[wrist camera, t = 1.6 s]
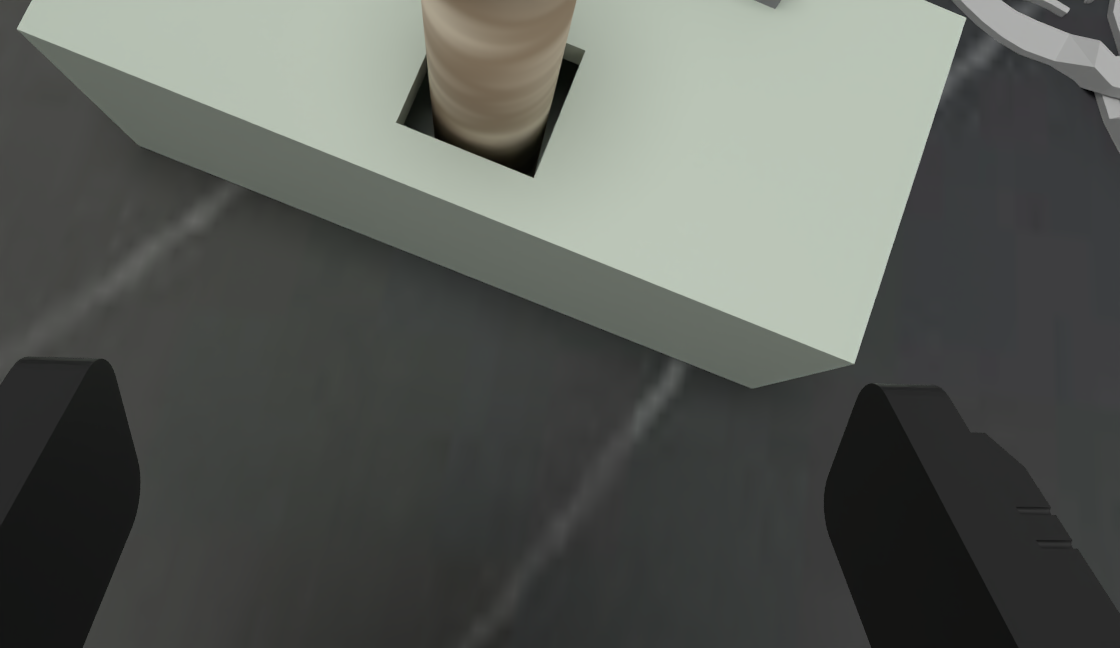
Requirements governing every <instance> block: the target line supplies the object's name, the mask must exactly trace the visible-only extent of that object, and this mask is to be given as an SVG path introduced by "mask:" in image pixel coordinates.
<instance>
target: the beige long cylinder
mask: <svg viewBox="0 0 1120 648" xmlns="http://www.w3.org/2000/svg"><path fill="white" fill-rule="evenodd" d="M421 5H422V15H423V25H424V36H425V46H426V56H427V66H428V76H429V86H430V96H431V106H432V116H433V126H434V136H435V139H438V140H440V141H443V142H445V143H448V144H450V145H453V146H455V147H458V148H460V149H463V150H465V151H468V152H470V153H473V154H475V155H478V156H480V157H483V158H485V159H488V160H490V161H493V162H495V163H498V164H500V165H502V166H505V167H507V168H510V169H512V170H515V171H517V172H520V173H522V174H525V175H527V176H530V177H532V178H534V175H535V171H536V167H537V163H538V158H539V154H540V150H541V146H542V142H543V138H544V133H545V129H546V125H547V121H548V117H549V113H550V109H551V104H552V100H553V96H554V92H555V88H556V84H557V79H558V75H559V71H560V67H561V63H562V59H563V54H564V50H565V46H566V42H567V38H568V34H569V30H570V25H571V21H572V17H573V13H574V9H575V5H576V0H421Z"/></svg>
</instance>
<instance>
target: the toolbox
mask: <svg viewBox="0 0 1120 648" xmlns="http://www.w3.org/2000/svg"><path fill="white" fill-rule="evenodd" d="M965 20H966V18H965V17H963V16H960V15H958V14H956V13H953V12H951V11H948V10H946V9H944V8H941V7H939V6H936V5H934V4H932V3H929V2H927V1H925V0H576V5H575V9H574V13H573V17H572V21H571V25H570V30H569V34H568V38H567V42H566V46H565V50H564V54H563V59H562V63H561V67H560V71H559V75H558V79H557V84H556V88H555V92H554V96H553V100H552V104H551V109H550V113H549V117H548V121H547V125H546V129H545V133H544V138H543V142H542V146H541V150H540V154H539V158H538V163H537V167H536V171H535V175H534V178H532V177H530V176H527V175H525V174H522V173H520V172H517V171H515V170H512V169H510V168H507V167H505V166H502V165H500V164H498V163H495V162H493V161H490V160H488V159H485V158H483V157H480V156H478V155H475V154H473V153H470V152H468V151H465V150H463V149H460V148H458V147H455V146H453V145H450V144H448V143H445V142H443V141H440V140H438V139H435V136H434V126H433V116H432V106H431V96H430V86H429V76H428V66H427V56H426V46H425V36H424V25H423V15H422V5H421V0H32V1H31V3H30V5H29V7H28V9H27V11H26V13H25V15H24V16H23V18H22V20H21V22H20V24H19V26H18V28H17V30H18V31H19V32H20V33H21V34H22V35H23V36H25V37H26V38H27V39H28V40H29V41H30V42H31V43H32V44H33V45H34V46H35V47H36V48H37V49H38V50H39V51H40V52H41V53H42V54H43V55H44V56H45V57H46V58H48V59H49V60H50V61H51V62H52V63H53V64H54V65H55V66H56V67H57V68H58V69H59V70H60V71H61V72H62V73H63V74H64V75H65V76H66V77H67V78H68V79H69V80H71V81H72V82H73V83H74V84H75V85H76V86H77V87H78V88H79V89H80V90H81V91H82V92H83V93H84V94H85V95H86V96H87V97H88V98H89V99H90V100H91V101H93V102H94V103H95V104H96V105H97V106H98V107H99V108H100V109H101V110H102V111H103V112H104V113H105V114H106V115H107V116H108V117H109V118H110V119H111V120H112V121H113V122H114V123H116V124H117V125H118V126H119V127H120V128H121V129H122V130H123V131H124V132H125V133H126V134H127V135H128V136H129V137H130V138H131V139H132V140H133V141H134V142H135V143H136V144H137V145H139V146H141V147H144V148H146V149H149V150H151V151H154V152H156V153H159V154H161V155H164V156H166V157H169V158H171V159H174V160H176V161H179V162H181V163H184V164H187V165H189V166H192V167H194V168H197V169H199V170H202V171H204V172H207V173H209V174H212V175H214V176H217V177H219V178H222V179H224V180H227V181H229V182H232V183H234V184H237V185H239V186H242V187H245V188H247V189H250V190H252V191H255V192H257V193H260V194H262V195H265V196H267V197H270V198H272V199H275V200H277V201H280V202H282V203H285V204H287V205H290V206H292V207H295V208H297V209H300V210H302V211H305V212H308V213H310V214H313V215H315V216H318V217H320V218H323V219H325V220H328V221H330V222H333V223H335V224H338V225H340V226H343V227H345V228H348V229H350V230H353V231H355V232H358V233H360V234H363V235H366V236H368V237H371V238H373V239H376V240H378V241H381V242H383V243H386V244H388V245H391V246H393V247H396V248H398V249H401V250H403V251H406V252H408V253H411V254H413V255H416V256H418V257H421V258H424V259H426V260H429V261H431V262H434V263H436V264H439V265H441V266H444V267H446V268H449V269H451V270H454V271H456V272H459V273H461V274H464V275H466V276H469V277H471V278H474V279H476V280H479V281H482V282H484V283H487V284H489V285H492V286H494V287H497V288H499V289H502V290H504V291H507V292H509V293H512V294H514V295H517V296H519V297H522V298H524V299H527V300H529V301H532V302H534V303H537V304H539V305H542V306H545V307H547V308H550V309H552V310H555V311H557V312H560V313H562V314H565V315H567V316H570V317H572V318H575V319H577V320H580V321H582V322H585V323H587V324H590V325H592V326H595V327H597V328H600V329H603V330H605V331H608V332H610V333H613V334H615V335H618V336H620V337H623V338H625V339H628V340H630V341H633V342H635V343H638V344H640V345H643V346H645V347H648V348H650V349H653V350H655V351H658V352H661V353H663V354H666V355H668V356H671V357H673V358H676V359H678V360H681V361H683V362H686V363H688V364H691V365H693V366H696V367H698V368H701V369H703V370H706V371H708V372H711V373H713V374H716V375H718V376H721V377H724V378H726V379H729V380H731V381H734V382H736V383H739V384H741V385H744V386H746V387H749V388H751V389H753V388H757V387H761V386H766V385H770V384H774V383H778V382H782V381H786V380H790V379H794V378H799V377H803V376H807V375H811V374H815V373H819V372H823V371H827V370H831V369H836V368H840V367H844V366H848V365H852V364H854V363H855V360H856V357H857V354H858V351H859V348H860V344H861V341H862V338H863V335H864V332H865V329H866V326H867V323H868V320H869V317H870V314H871V310H872V307H873V304H874V301H875V298H876V295H877V292H878V289H879V286H880V283H881V280H882V277H883V273H884V270H885V267H886V264H887V261H888V258H889V255H890V252H891V249H892V246H893V243H894V239H895V236H896V233H897V230H898V227H899V224H900V221H901V218H902V215H903V212H904V209H905V205H906V202H907V199H908V196H909V193H910V190H911V187H912V184H913V181H914V178H915V175H916V172H917V168H918V165H919V162H920V159H921V156H922V153H923V150H924V147H925V144H926V141H927V138H928V134H929V131H930V128H931V125H932V122H933V119H934V116H935V113H936V110H937V107H938V104H939V101H940V97H941V94H942V91H943V88H944V85H945V82H946V79H947V76H948V73H949V70H950V67H951V63H952V60H953V57H954V54H955V51H956V48H957V45H958V42H959V39H960V36H961V33H962V29H963V26H964V23H965Z"/></svg>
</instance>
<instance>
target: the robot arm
mask: <svg viewBox="0 0 1120 648" xmlns="http://www.w3.org/2000/svg"><path fill="white" fill-rule="evenodd" d="M139 496H140V470H139V464H138V459H137V455H136V452H135V448H134V444H133V440H132V437H131V433H130V429H129V425H128V421H127V418H126V414H125V410H124V406H123V402H122V399H121V395H120V391H119V387H118V384H117V380H116V376H115V373H114V370H113V368H112V366H111V365H110V364H109V362H108V361H106V360H104V359H92V358H57V357H24V358H22V359H20V360H19V361H18V362H16V363H15V365H14V366H13V367H12V368H11V370H10V371H9V373H8V374H7V376H6V377H5V379H4V380H3V382H2V383H1V385H0V648H83V645H84V643H85V640H86V638H87V636H88V633H89V631H90V628H91V626H92V623H93V621H94V619H95V616H96V614H97V611H98V609H99V606H100V604H101V601H102V599H103V597H104V594H105V592H106V589H107V587H108V584H109V582H110V579H111V577H112V575H113V572H114V570H115V567H116V565H117V562H118V560H119V558H120V555H121V553H122V550H123V548H124V545H125V543H126V540H127V538H128V536H129V533H130V531H131V528H132V526H133V523H134V520H135V517H136V513H137V508H138V503H139ZM1050 508H1051V507H1050V505H1049V504H1048V502H1047V501H1046V499H1045V498H1044V496H1043V495H1042V493H1041V492H1040V490H1039V488H1038V487H1037V485H1036V484H1035V482H1034V481H1033V479H1032V478H1031V476H1030V475H1029V473H1028V471H1027V470H1026V468H1025V467H1024V466H1023V465H1021V464H1020V463H1019V462H1018V461H1017V460H1016V459H1015V458H1013V457H1012V456H1011V455H1010V454H1009V453H1008V452H1006V451H1005V450H1004V449H1003V448H1002V447H1001V446H999V445H998V444H997V443H996V442H995V441H994V440H993V439H991V438H990V437H989V436H988V435H987V434H986V433H971V432H970V431H969V429H968V427H967V426H966V424H965V423H964V421H963V419H962V418H961V416H960V414H959V413H958V411H957V409H956V408H955V406H954V404H953V403H952V401H951V399H950V398H949V396H948V395H947V394H946V392H945V391H944V390H943V389H942V388H940V387H938V386H935V385H908V384H874V383H872V384H868V385H866V386H865V387H864V388H863V389H862V390H861V392H860V393H859V395H858V397H857V400H856V402H855V405H854V408H853V410H852V413H851V416H850V418H849V421H848V424H847V427H846V429H845V432H844V435H843V437H842V440H841V443H840V445H839V448H838V451H837V453H836V456H835V459H834V461H833V464H832V467H831V469H830V472H829V475H828V478H827V481H826V486H825V493H824V513H825V521H826V526H827V530H828V534H829V537H830V539H831V542H832V545H833V547H834V550H835V553H836V555H837V558H838V561H839V563H840V566H841V568H842V571H843V574H844V576H845V579H846V582H847V584H848V587H849V590H850V592H851V595H852V598H853V600H854V603H855V605H856V608H857V611H858V613H859V616H860V619H861V621H862V624H863V627H864V629H865V632H866V635H867V637H868V640H869V642H870V645H871V648H1120V613H1119V612H1118V610H1117V609H1116V607H1115V606H1114V604H1113V603H1112V601H1111V600H1110V598H1109V596H1108V595H1107V593H1106V592H1105V590H1104V589H1103V587H1102V586H1101V584H1100V583H1099V581H1098V579H1097V578H1096V576H1095V575H1094V573H1093V572H1092V570H1091V569H1090V567H1089V566H1088V564H1087V562H1086V561H1085V559H1084V558H1083V556H1082V555H1081V553H1080V552H1079V550H1078V549H1073V548H1072V545H1071V542H1072V539H1071V538H1070V536H1069V535H1068V533H1067V532H1066V530H1065V529H1064V527H1063V525H1062V524H1061V522H1060V521H1059V519H1058V518H1057V516H1056V515H1051V513H1050Z"/></svg>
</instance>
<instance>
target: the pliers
mask: <svg viewBox="0 0 1120 648" xmlns="http://www.w3.org/2000/svg"><path fill="white" fill-rule="evenodd" d="M952 1H953V2H954V3H955V4H956V5H957V6H958V8H959V9H960V10H961V11H962V12H964V13H965V14H966V15H967V16H968V17H969V18H970V19H971V20H972V21H973V22H974V23H975V24H976V25H977V26H978V27H980V28H981V29H982V30H984V31H985V32H986V33H987V34H989V35H990V36H991V37H992V38H994V39H995V40H996V41H998V42H999V43H1001V44H1003V45H1004V46H1006V47H1008V48H1009V49H1011V50H1013V51H1014V52H1016V53H1018V54H1020V55H1023V56H1025V57H1028V58H1031V59H1034V60H1037V61H1039V62H1042V63H1045V64H1048V65H1050V66H1051V67H1053V68H1055V69H1056V70H1058V71H1060V72H1061V73H1063V74H1065V75H1066V76H1068V77H1069V78H1071V79H1073V80H1074V81H1075V82H1076V83H1077V84H1078V85H1079V86H1080V87H1081V88H1084V89H1087V90H1091V91H1094V94H1095V97H1096V100H1097V104H1098V107H1099V110H1100V113H1101V117H1102V120H1103V123H1104V125H1105V126H1106V128H1107V130H1108V132H1109V134H1110V136H1111V138H1112V140H1113V142H1114V144H1115V146H1116V147H1117V149H1118V151H1119V153H1120V0H1110V2H1109V8H1108V14H1107V18H1108V21H1109V24H1110V27H1111V30H1112V34H1113V37H1114V40H1115V43H1116V46H1117V50H1118V53H1119V56H1117V57H1115V56H1114V55H1113V53H1112V52H1111V51H1110V50H1109V49H1108V48H1107V47H1106V46H1105V45H1104V44H1103V43H1102V42H1101V41H1099V40H1094V39H1090V38H1085V37H1081V36H1076V35H1072V34H1068V33H1066V32H1064V31H1061V30H1059V29H1056V28H1054V27H1051V26H1049V25H1046V24H1044V23H1041V22H1039V21H1037V20H1034V19H1032V18H1030V17H1028V16H1026V15H1024V14H1022V13H1019V12H1017V11H1015V10H1014V9H1012V8H1011V7H1010V6H1008V5H1007V4H1006V3H1004V2H1003V1H1001V0H952ZM1025 1H1030V2H1032V3H1035V4H1037V5H1039V6H1041V7H1044V8H1046V9H1048V10H1049V11H1051V12H1053V13H1054V14H1056V15H1058V16H1060V17H1063V16H1064V15H1065V14H1067V13H1068V11H1069V9H1070V8H1068V7H1067V6H1065V5H1063V4H1062V3H1060V2H1059V1H1057V0H1025ZM1092 1H1094V0H1084V3H1091V2H1092Z"/></svg>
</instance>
